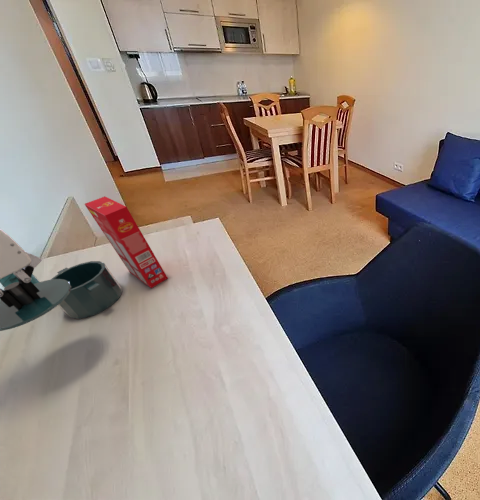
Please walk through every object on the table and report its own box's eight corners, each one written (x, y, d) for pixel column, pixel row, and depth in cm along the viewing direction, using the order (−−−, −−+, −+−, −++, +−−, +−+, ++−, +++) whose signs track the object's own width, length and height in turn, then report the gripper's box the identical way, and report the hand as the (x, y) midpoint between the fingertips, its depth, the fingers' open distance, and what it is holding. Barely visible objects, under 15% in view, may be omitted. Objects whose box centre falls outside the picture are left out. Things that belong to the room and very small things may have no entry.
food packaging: (168, 278, 94) (126, 206, 80) (151, 288, 91) (104, 215, 76) (146, 264, 102) (104, 196, 87) (130, 272, 98) (84, 203, 84)
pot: (87, 328, 80) (64, 302, 74) (54, 307, 88) (31, 282, 82) (136, 294, 89) (119, 269, 83) (103, 278, 97) (85, 254, 92)
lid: (0, 344, 56) (-25, 323, 52) (-26, 319, 62) (-50, 299, 59) (85, 293, 66) (69, 273, 62) (55, 276, 72) (39, 257, 69)
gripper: (2, 202, 60) (62, 274, 70) (-125, 246, 49) (-31, 323, 59) (17, 208, 56) (78, 282, 67) (-115, 256, 45) (-18, 336, 56)
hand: (26, 301), depth 63 cm, fingers closed on lid, 2 cm apart
